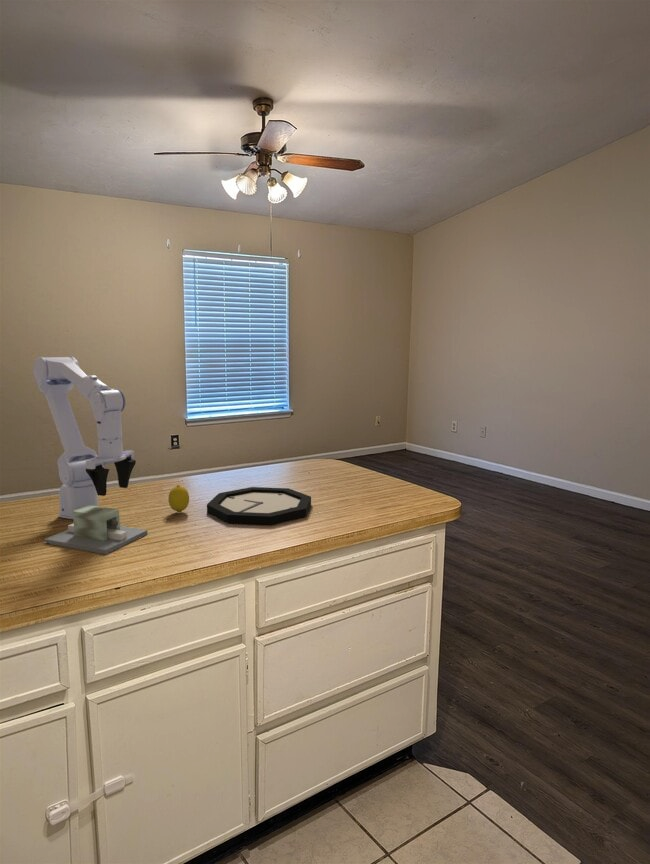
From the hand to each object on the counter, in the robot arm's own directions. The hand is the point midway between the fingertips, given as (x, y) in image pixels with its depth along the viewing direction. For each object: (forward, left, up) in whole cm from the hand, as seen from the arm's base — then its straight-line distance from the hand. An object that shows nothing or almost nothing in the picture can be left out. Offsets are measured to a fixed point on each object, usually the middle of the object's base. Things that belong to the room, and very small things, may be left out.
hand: (112, 491), depth 134 cm
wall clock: (+27, +28, -10) cm, 40 cm away
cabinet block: (+2, -8, -8) cm, 12 cm away
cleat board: (+2, -8, -9) cm, 13 cm away
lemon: (+8, +16, -10) cm, 20 cm away
